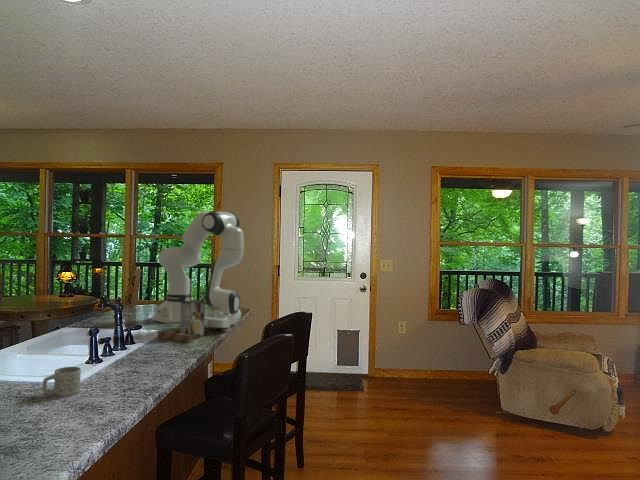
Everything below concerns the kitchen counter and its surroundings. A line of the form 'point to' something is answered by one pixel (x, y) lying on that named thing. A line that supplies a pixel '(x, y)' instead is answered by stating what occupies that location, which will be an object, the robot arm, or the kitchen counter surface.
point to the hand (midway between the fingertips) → (197, 323)
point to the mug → (64, 382)
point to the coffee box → (192, 317)
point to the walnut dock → (177, 336)
